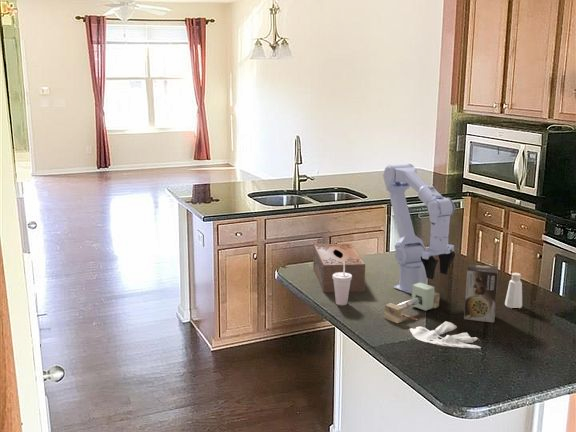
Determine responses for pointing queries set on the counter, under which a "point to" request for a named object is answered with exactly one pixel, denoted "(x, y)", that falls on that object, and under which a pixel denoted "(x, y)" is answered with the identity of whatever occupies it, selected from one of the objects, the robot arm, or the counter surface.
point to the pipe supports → (398, 310)
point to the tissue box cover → (338, 265)
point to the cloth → (449, 340)
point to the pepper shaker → (514, 292)
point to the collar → (423, 295)
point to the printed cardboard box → (481, 293)
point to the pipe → (409, 303)
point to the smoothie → (342, 286)
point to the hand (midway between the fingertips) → (436, 275)
